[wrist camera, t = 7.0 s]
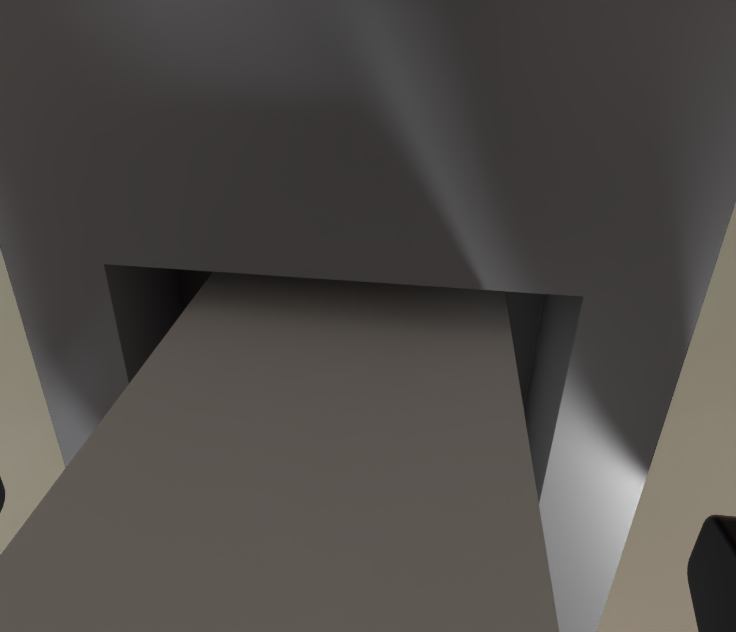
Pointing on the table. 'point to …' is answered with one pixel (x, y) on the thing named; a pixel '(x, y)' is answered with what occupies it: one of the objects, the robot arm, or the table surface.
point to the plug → (300, 475)
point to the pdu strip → (385, 198)
